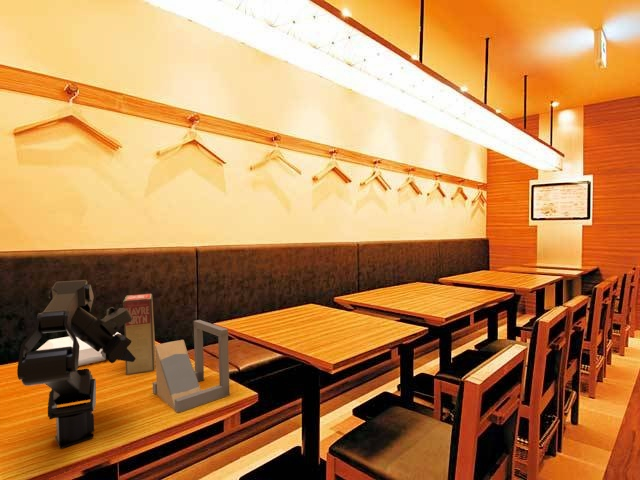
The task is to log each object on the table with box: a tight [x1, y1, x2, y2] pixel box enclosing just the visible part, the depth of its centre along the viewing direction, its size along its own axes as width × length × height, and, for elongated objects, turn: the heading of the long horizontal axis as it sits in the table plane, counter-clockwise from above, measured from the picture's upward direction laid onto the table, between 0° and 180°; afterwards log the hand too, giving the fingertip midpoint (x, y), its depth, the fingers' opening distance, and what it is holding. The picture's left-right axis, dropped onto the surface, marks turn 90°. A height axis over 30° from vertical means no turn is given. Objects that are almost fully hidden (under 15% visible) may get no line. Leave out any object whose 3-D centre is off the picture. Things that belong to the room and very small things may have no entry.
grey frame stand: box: [152, 319, 230, 414], centre depth 109 cm, size 15×18×19 cm
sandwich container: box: [155, 339, 202, 411], centre depth 107 cm, size 9×15×15 cm, turn 42°
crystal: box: [37, 331, 121, 367], centre depth 141 cm, size 14×10×28 cm
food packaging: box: [122, 293, 156, 376], centre depth 133 cm, size 13×9×25 cm
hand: (134, 360), depth 99 cm, fingers closed
